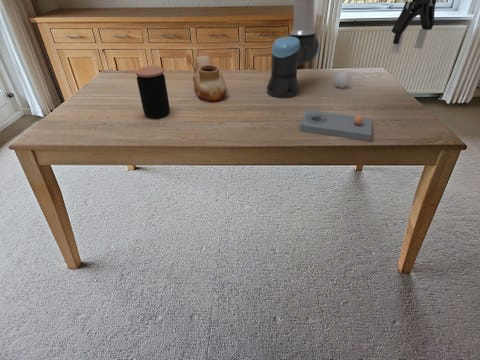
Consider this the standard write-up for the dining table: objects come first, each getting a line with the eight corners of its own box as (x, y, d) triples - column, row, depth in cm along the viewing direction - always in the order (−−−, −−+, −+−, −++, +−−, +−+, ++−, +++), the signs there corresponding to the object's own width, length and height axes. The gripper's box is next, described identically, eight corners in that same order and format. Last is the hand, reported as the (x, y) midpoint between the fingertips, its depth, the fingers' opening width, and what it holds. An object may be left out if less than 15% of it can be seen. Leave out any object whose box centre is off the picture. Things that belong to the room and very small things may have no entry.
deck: (299, 130, 115) (300, 124, 114) (306, 115, 126) (306, 109, 124) (369, 141, 108) (371, 135, 107) (370, 124, 119) (372, 118, 117)
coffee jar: (175, 110, 131) (168, 67, 120) (162, 121, 123) (154, 76, 112) (153, 107, 134) (145, 65, 123) (139, 117, 126) (129, 73, 115)
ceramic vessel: (216, 81, 159) (214, 51, 150) (231, 100, 139) (230, 67, 130) (190, 85, 155) (186, 54, 146) (201, 105, 135) (198, 70, 126)
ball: (352, 125, 113) (354, 117, 111) (353, 121, 115) (354, 113, 113) (362, 127, 112) (364, 118, 110) (362, 123, 114) (364, 114, 112)
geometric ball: (335, 92, 152) (327, 79, 150) (344, 83, 155) (337, 69, 152) (346, 89, 145) (338, 75, 143) (356, 79, 148) (348, 65, 145)
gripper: (412, -14, 95) (392, 57, 108) (459, -18, 105) (436, 47, 118) (392, -15, 100) (375, 52, 113) (438, -19, 110) (418, 43, 123)
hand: (406, 50), depth 115 cm, fingers open, 13 cm apart
